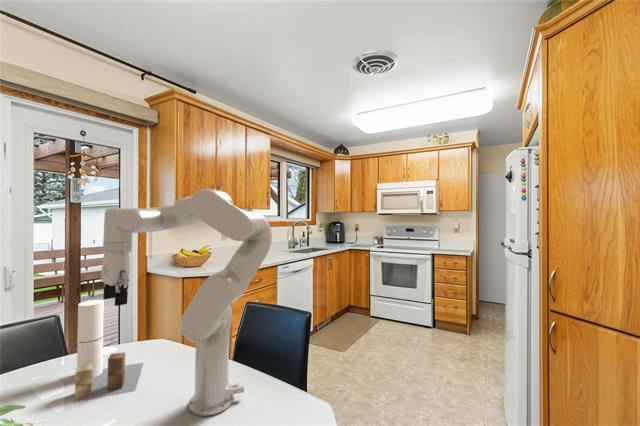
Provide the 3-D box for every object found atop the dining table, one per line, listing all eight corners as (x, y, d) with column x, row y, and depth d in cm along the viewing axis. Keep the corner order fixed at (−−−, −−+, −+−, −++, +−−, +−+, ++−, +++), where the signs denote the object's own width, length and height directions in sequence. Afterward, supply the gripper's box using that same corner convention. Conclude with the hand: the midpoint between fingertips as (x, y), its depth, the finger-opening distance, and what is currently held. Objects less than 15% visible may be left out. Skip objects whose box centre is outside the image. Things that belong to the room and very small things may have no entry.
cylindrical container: (88, 381, 101) (90, 306, 101) (71, 378, 102) (72, 304, 103) (107, 370, 108) (108, 300, 108) (91, 368, 109) (92, 299, 110)
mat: (143, 363, 114) (143, 362, 114) (134, 391, 96) (135, 390, 96) (92, 371, 108) (92, 370, 108) (72, 403, 90) (72, 402, 90)
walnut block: (124, 382, 101) (125, 352, 101) (122, 388, 97) (122, 357, 97) (110, 384, 99) (111, 354, 99) (107, 391, 96) (108, 359, 96)
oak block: (90, 388, 97) (91, 363, 97) (91, 394, 94) (91, 368, 94) (74, 393, 94) (75, 367, 94) (74, 399, 91) (75, 372, 91)
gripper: (94, 245, 98) (91, 298, 97) (114, 250, 87) (111, 310, 87) (120, 244, 104) (118, 294, 103) (142, 249, 93) (139, 304, 93)
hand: (115, 301), depth 95 cm, fingers open, 9 cm apart
